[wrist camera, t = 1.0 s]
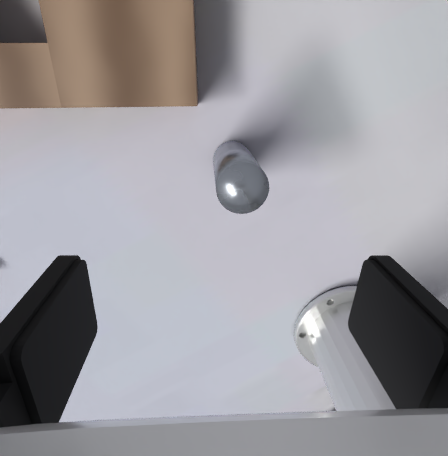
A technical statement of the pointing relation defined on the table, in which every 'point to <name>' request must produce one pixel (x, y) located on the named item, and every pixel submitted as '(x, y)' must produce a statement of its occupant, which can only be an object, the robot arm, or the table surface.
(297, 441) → the robot arm
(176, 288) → the table surface
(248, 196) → the pin
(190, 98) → the socket block
